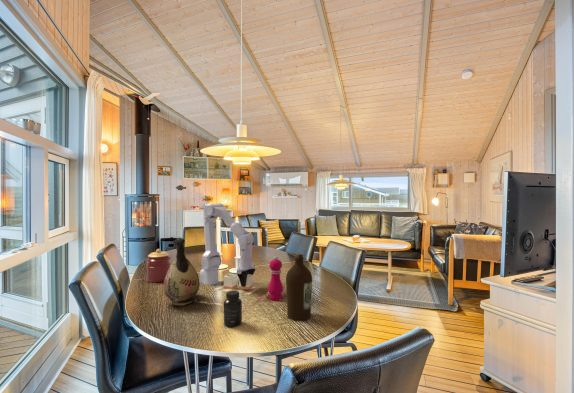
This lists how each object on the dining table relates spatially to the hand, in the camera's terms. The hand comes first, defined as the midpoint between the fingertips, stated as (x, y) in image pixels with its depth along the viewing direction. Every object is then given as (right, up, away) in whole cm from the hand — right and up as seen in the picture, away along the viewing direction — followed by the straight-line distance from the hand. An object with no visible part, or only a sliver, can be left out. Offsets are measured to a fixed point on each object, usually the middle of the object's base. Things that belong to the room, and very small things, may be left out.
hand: (246, 284), depth 147 cm
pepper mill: (+15, -4, -8) cm, 18 cm away
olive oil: (+25, -4, -28) cm, 38 cm away
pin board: (-5, -4, +2) cm, 6 cm away
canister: (-53, -4, +22) cm, 58 cm away
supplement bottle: (0, -4, -35) cm, 36 cm away
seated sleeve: (-8, -2, +3) cm, 9 cm away
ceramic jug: (-27, -4, -14) cm, 31 cm away
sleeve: (0, -1, 0) cm, 1 cm away
